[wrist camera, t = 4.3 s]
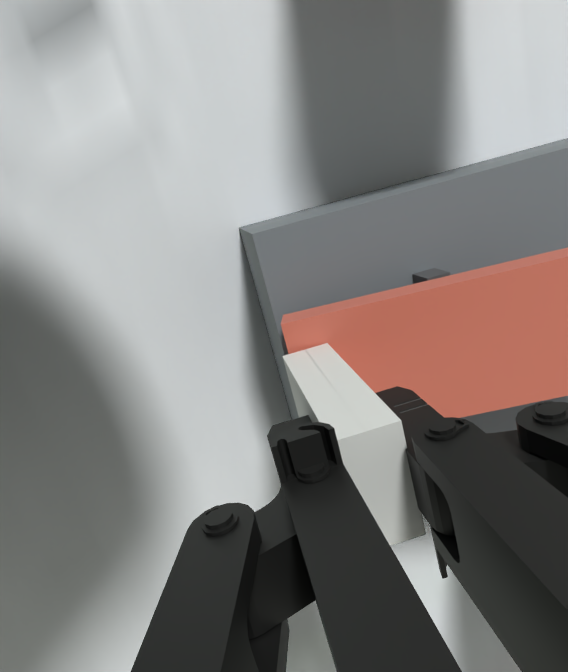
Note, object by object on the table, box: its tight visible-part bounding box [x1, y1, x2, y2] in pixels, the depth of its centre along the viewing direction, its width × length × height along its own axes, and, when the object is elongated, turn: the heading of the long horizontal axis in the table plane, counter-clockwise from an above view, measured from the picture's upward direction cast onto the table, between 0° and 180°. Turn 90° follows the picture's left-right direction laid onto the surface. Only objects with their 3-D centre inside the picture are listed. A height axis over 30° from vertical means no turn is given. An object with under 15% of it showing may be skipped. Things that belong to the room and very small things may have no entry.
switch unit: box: [239, 138, 568, 433], centre depth 23 cm, size 24×10×7 cm, turn 105°
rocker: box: [281, 247, 568, 418], centre depth 17 cm, size 11×4×1 cm, turn 104°
